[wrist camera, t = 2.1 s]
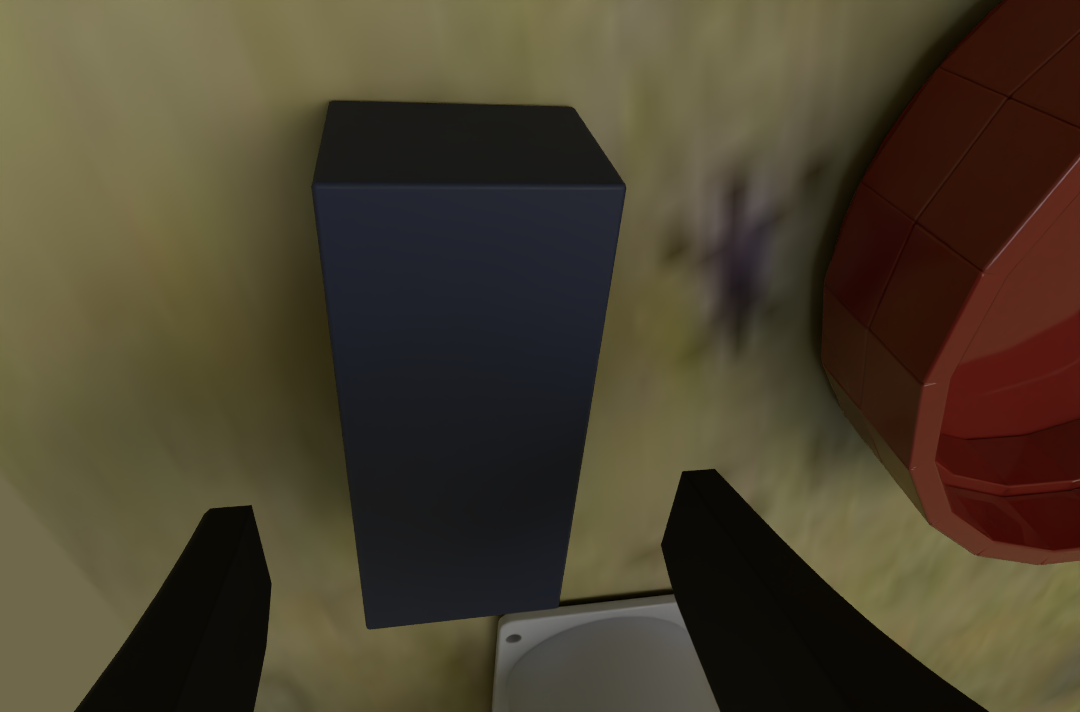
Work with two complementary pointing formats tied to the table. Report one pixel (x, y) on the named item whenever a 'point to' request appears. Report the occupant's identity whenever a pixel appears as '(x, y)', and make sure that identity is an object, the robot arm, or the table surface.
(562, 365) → the dark blue-grey block
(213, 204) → the table surface
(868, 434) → the bowl
